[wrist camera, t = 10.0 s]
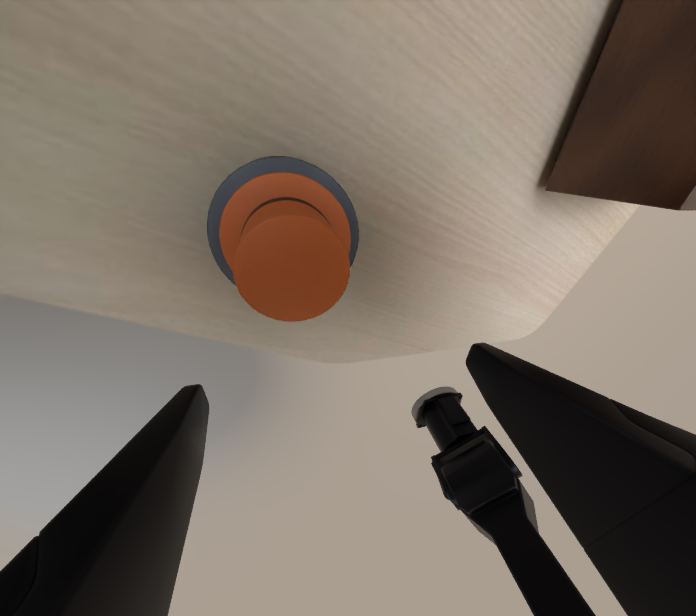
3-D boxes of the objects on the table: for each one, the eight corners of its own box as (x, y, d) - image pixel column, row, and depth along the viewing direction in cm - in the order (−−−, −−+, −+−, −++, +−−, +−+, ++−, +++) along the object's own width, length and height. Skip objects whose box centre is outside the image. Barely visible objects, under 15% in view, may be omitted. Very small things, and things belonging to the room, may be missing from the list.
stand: (346, 284, 21) (354, 298, 19) (231, 292, 19) (225, 310, 17) (352, 159, 16) (364, 160, 14) (198, 152, 14) (185, 152, 12)
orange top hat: (346, 290, 18) (367, 331, 14) (235, 300, 17) (222, 349, 12) (351, 173, 14) (383, 183, 10) (205, 169, 13) (173, 178, 8)
